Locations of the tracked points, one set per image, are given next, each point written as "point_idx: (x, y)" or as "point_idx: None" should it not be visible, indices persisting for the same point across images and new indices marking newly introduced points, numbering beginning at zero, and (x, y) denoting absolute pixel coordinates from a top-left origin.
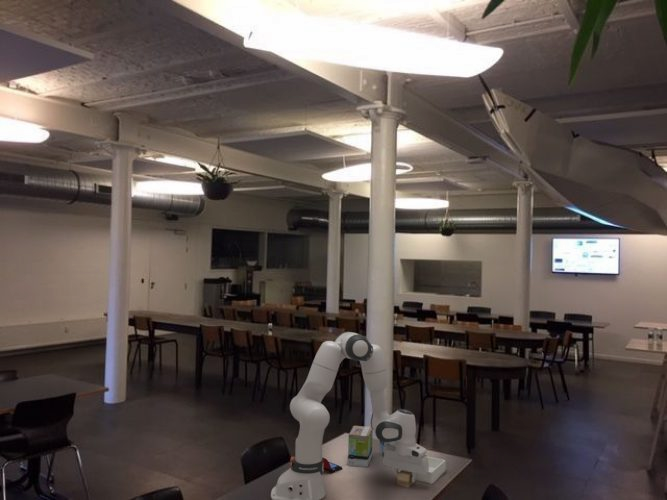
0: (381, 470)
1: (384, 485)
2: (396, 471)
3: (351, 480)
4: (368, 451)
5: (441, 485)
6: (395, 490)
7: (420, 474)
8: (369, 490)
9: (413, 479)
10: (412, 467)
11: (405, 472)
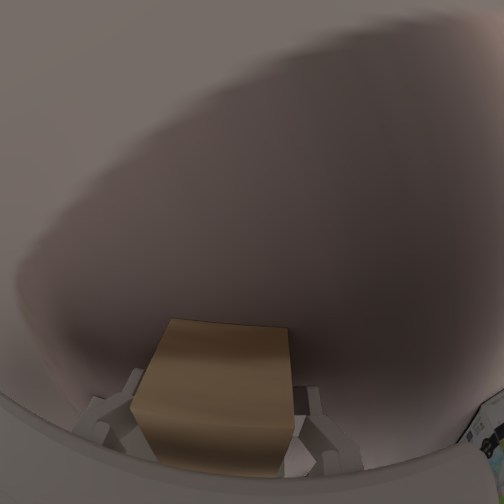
0: (425, 423)
1: (405, 256)
2: (326, 446)
3: None
4: (501, 462)
5: (62, 390)
6: (258, 190)
7: (147, 451)
8: (477, 91)
9: (126, 390)
10: (59, 483)
11: (211, 454)
